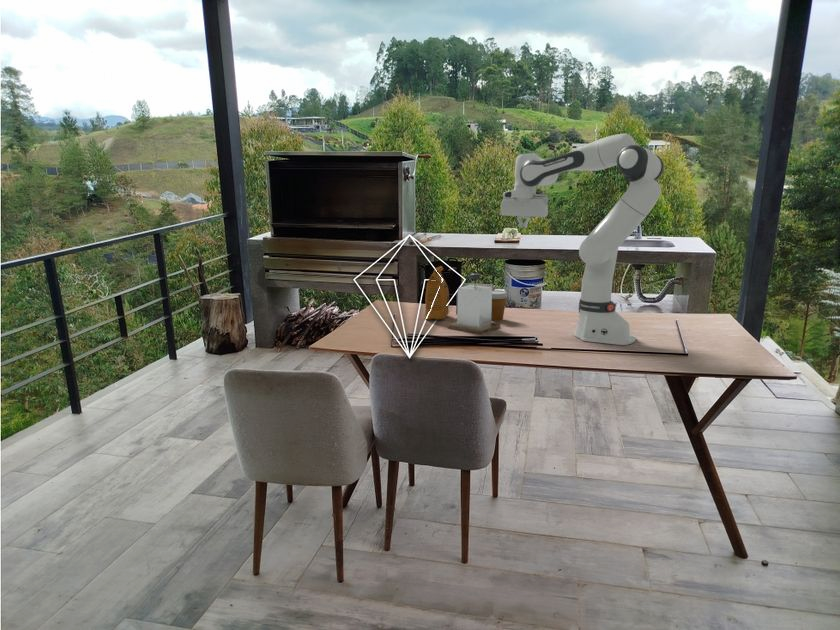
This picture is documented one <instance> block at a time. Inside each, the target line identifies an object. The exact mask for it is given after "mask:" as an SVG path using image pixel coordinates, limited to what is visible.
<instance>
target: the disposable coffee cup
mask: <svg viewBox="0 0 840 630" xmlns="http://www.w3.org/2000/svg"><path fill="white" fill-rule="evenodd" d="M507 297H508V294H507V291H505V290H501V289H499V290H498V289H495V290H493V289H492V311H491V322H501V321H504V314H505V310H506V309H505V308H506V303H507Z"/></svg>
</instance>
